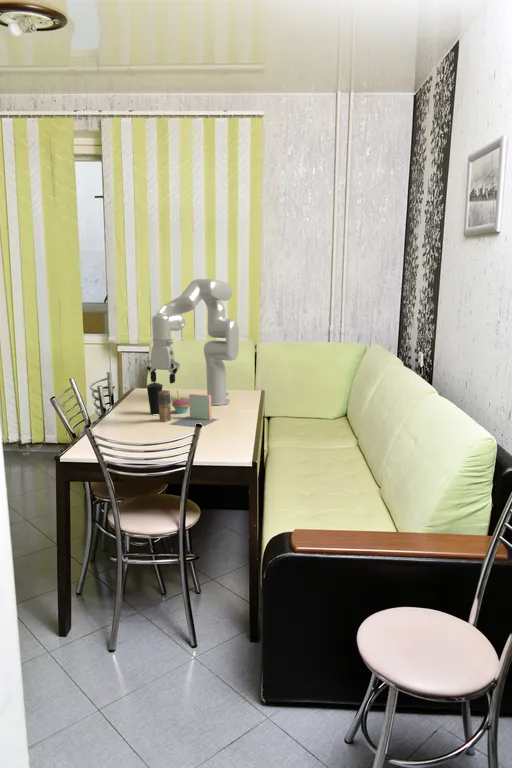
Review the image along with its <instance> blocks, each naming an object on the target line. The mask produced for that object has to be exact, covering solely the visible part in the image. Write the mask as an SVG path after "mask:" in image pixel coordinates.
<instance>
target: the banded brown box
mask: <svg viewBox="0 0 512 768" xmlns="http://www.w3.org/2000/svg"><path fill="white" fill-rule="evenodd" d="M170 392H171V391H170V390H166V389H162V391H160V392H158V403H159V415H158V416H159V422H160V423H168V422H169V421H172V414H171V413H172V411H171V393H170Z"/></svg>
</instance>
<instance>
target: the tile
mask: <svg viewBox="0 0 512 768" xmlns="http://www.w3.org/2000/svg"><path fill="white" fill-rule="evenodd" d="M188 401H189V403H190V406H189V416H190V418H192V419H203V420H211V419H213V418H212V415H213V414H212V405H211V395H207V394H201V393H190V394H188Z"/></svg>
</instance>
